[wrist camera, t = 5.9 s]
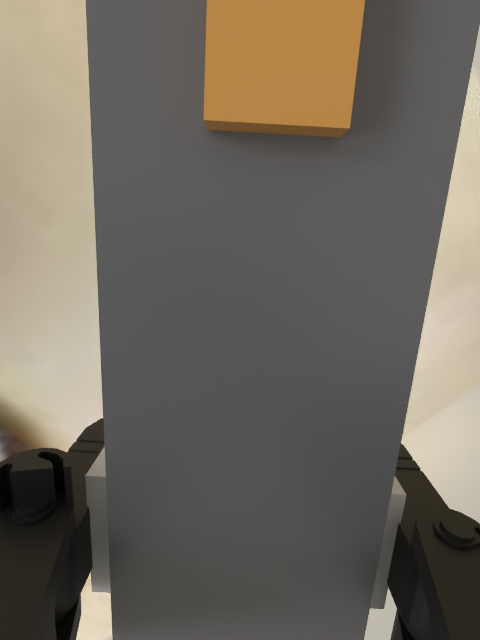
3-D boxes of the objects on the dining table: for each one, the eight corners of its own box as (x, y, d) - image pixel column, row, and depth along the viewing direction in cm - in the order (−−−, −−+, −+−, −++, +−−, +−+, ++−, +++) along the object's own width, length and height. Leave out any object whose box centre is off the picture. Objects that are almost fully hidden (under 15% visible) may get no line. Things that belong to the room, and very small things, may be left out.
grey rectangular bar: (180, 613, 16) (119, 970, 8) (191, 48, 11) (47, -428, 3) (278, 619, 16) (308, 982, 8) (338, 56, 11) (585, -400, 3)
